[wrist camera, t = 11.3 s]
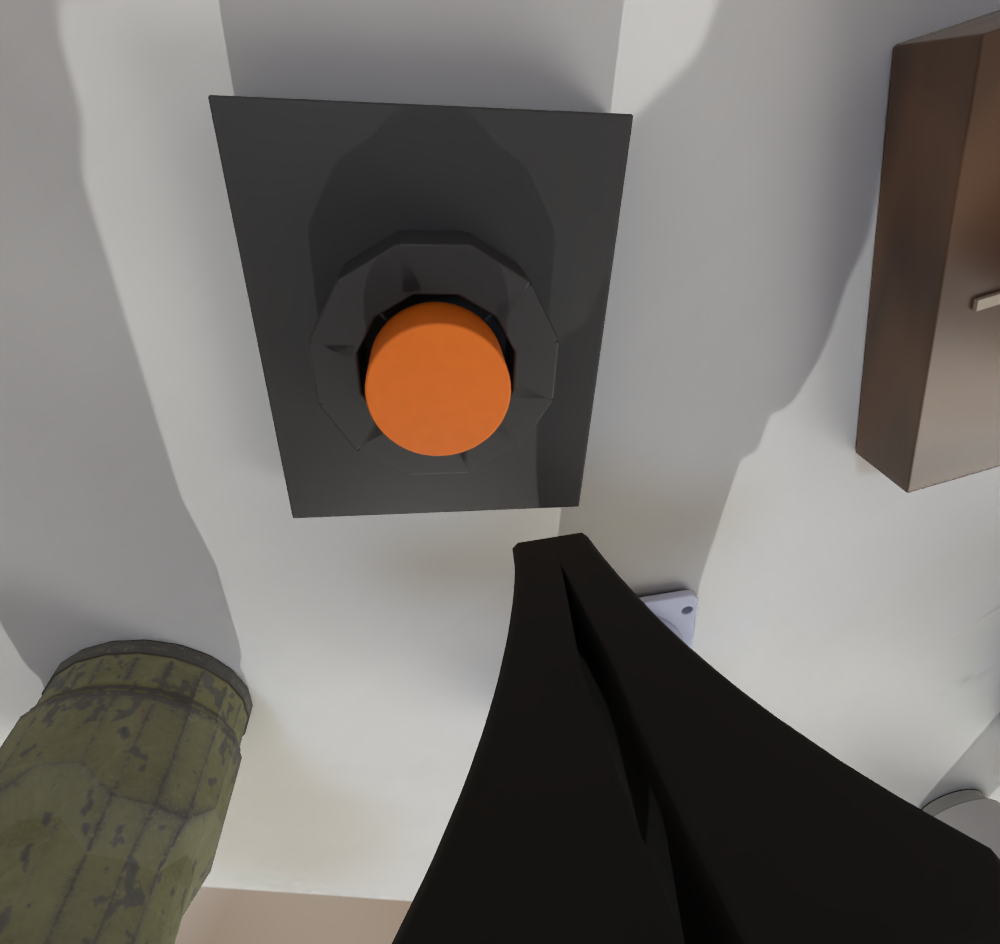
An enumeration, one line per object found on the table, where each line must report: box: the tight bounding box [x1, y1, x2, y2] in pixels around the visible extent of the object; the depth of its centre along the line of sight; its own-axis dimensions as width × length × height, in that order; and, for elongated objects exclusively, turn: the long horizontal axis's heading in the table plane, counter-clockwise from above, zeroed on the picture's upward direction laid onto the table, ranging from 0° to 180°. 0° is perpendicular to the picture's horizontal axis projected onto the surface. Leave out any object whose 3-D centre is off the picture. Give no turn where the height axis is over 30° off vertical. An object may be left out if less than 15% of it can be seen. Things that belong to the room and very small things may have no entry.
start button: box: [365, 302, 511, 456], centre depth 15 cm, size 4×4×2 cm
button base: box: [208, 95, 633, 518], centre depth 17 cm, size 12×10×4 cm
